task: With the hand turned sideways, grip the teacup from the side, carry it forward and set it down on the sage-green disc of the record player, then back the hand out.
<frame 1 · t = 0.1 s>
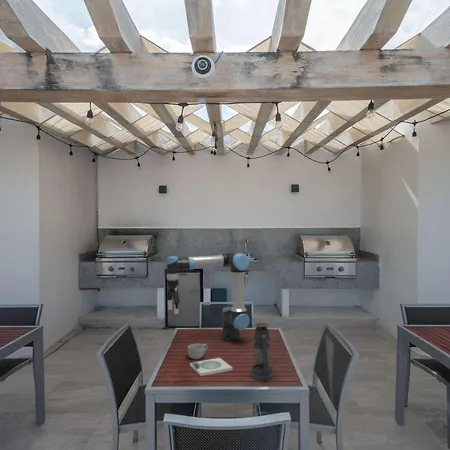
hand: (173, 311, 255), 28 cm above the table, tool pointing down, fingers open, 13 cm apart
teacup: (198, 357, 247), on the table
record player: (210, 367, 229), on the table
lantern: (263, 375, 216), on the table
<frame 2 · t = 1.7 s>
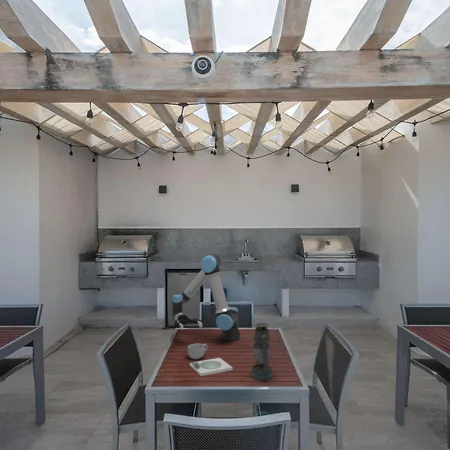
hand: (192, 326, 256), 17 cm above the table, tool horizontal, fingers open, 13 cm apart
nothing on the table moved.
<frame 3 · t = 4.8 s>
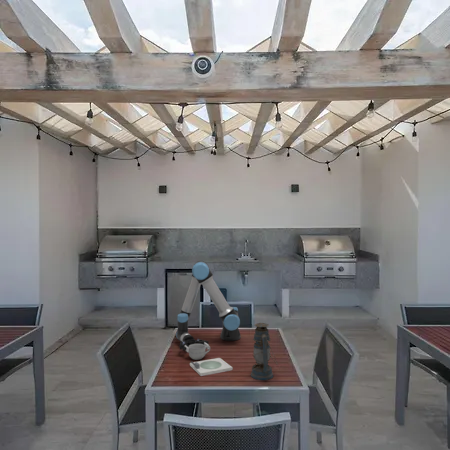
hand: (198, 348, 245), 6 cm above the table, tool horizontal, fingers closed on teacup, 13 cm apart
teacup: (199, 358, 245), on the table, touching gripper
everything else where it was.
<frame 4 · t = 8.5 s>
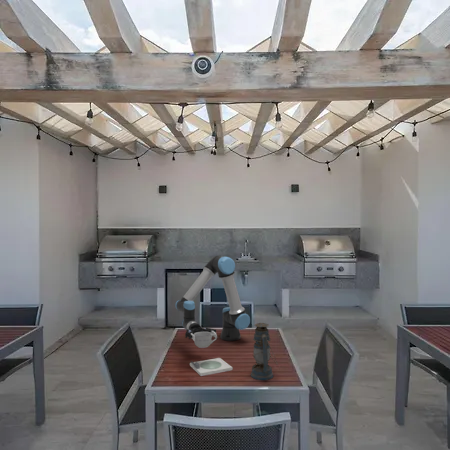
hand: (205, 337, 229), 18 cm above the table, tool horizontal, fingers closed on teacup, 13 cm apart
teacup: (205, 346, 230), point 12 cm above the table, touching gripper
everything else where it was.
when the fingers open (9 cm above the table, at t = 11.2 s): teacup drops 1 cm, resting on record player.
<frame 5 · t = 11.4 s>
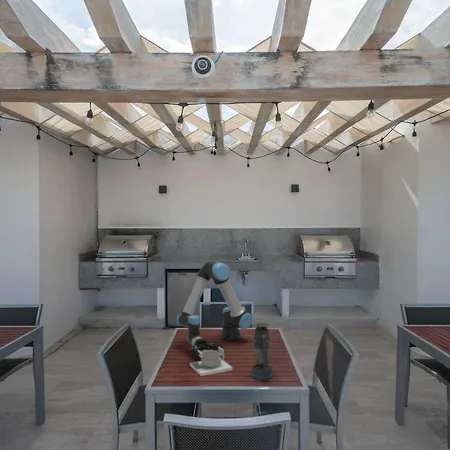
hand: (212, 353, 226), 9 cm above the table, tool horizontal, fingers open, 13 cm apart
teacup: (211, 366, 226), point 2 cm above the table, touching record player, gripper
everything else where it was.
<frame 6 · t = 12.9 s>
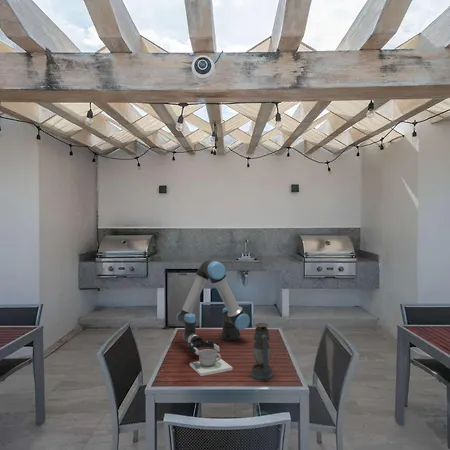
hand: (208, 350, 231), 9 cm above the table, tool horizontal, fingers open, 13 cm apart
teacup: (209, 365, 228), point 2 cm above the table, touching record player, gripper
everything else where it was.
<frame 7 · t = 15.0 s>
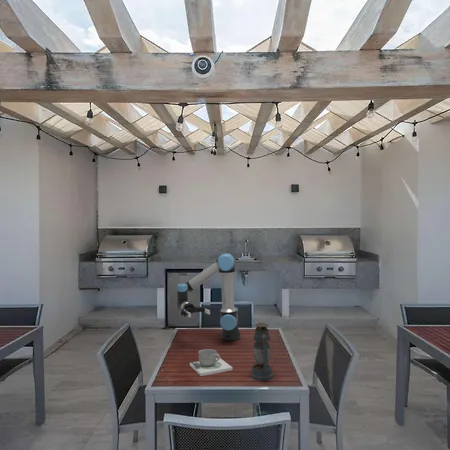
hand: (199, 313, 250), 27 cm above the table, tool horizontal, fingers open, 13 cm apart
teacup: (209, 365, 228), point 2 cm above the table, touching record player
everything else where it was.
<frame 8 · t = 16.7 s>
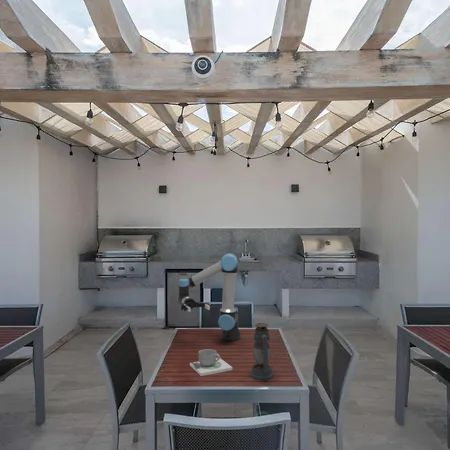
hand: (199, 308, 252), 30 cm above the table, tool horizontal, fingers open, 13 cm apart
nothing on the table moved.
at the end: teacup inside the target area on the record player (0.9 cm from its centre), point 1.6 cm above the record player's base; teacup tilted 0°; the gripper is holding nothing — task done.
